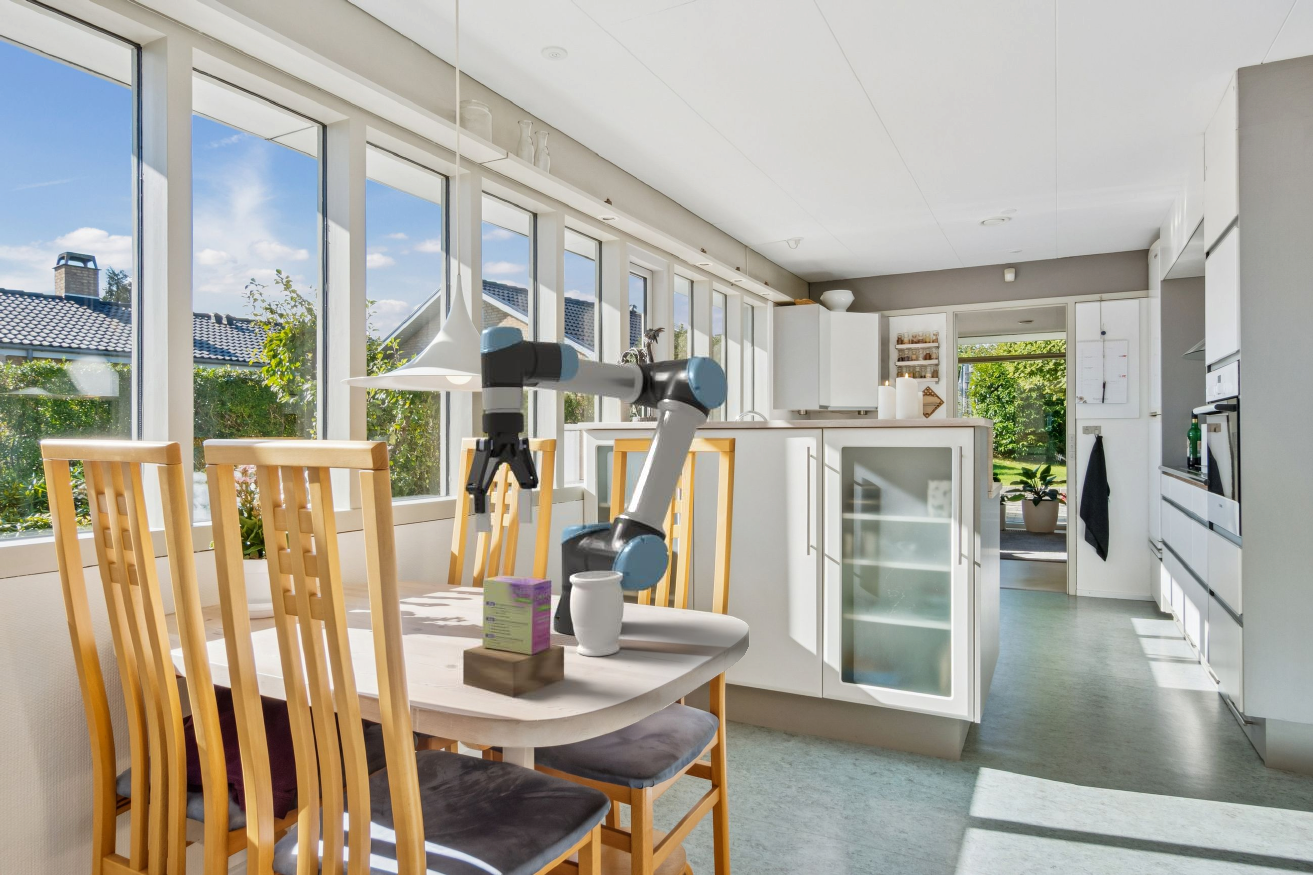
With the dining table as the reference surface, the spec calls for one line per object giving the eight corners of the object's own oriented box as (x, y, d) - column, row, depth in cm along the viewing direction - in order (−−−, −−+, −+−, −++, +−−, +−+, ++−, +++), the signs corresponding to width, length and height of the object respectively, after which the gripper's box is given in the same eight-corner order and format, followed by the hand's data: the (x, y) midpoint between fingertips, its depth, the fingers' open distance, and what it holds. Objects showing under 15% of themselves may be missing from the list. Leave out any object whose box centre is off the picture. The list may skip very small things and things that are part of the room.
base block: (515, 669, 141) (515, 636, 141) (563, 681, 134) (564, 646, 134) (463, 685, 131) (463, 650, 132) (513, 699, 124) (513, 662, 125)
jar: (597, 640, 160) (595, 568, 160) (635, 648, 153) (633, 572, 153) (560, 653, 152) (558, 576, 152) (598, 661, 145) (596, 581, 145)
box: (551, 647, 133) (552, 578, 134) (532, 655, 128) (532, 584, 128) (502, 640, 138) (503, 574, 138) (481, 648, 133) (482, 579, 133)
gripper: (522, 413, 156) (524, 519, 156) (443, 411, 132) (445, 535, 133) (555, 412, 153) (556, 520, 153) (479, 410, 130) (482, 536, 130)
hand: (505, 527), depth 143 cm, fingers open, 13 cm apart
